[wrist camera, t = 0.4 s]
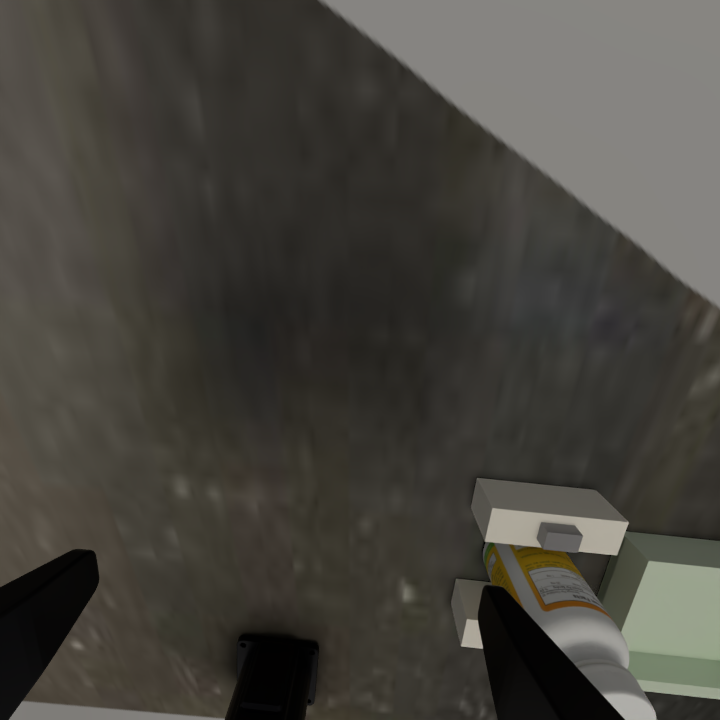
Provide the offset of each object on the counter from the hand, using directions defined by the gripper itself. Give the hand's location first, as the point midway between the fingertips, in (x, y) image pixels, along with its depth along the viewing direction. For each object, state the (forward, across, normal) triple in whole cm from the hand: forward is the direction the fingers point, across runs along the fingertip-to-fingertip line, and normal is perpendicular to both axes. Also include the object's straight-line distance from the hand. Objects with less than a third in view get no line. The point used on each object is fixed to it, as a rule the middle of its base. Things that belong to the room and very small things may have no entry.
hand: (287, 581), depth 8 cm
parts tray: (+14, -25, +14) cm, 32 cm away
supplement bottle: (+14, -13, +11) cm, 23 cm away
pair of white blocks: (+14, -13, +11) cm, 22 cm away
